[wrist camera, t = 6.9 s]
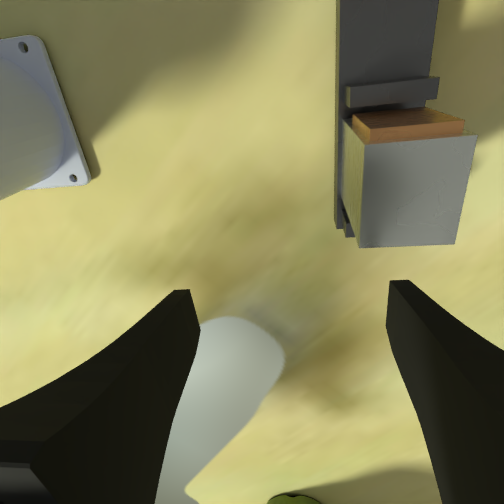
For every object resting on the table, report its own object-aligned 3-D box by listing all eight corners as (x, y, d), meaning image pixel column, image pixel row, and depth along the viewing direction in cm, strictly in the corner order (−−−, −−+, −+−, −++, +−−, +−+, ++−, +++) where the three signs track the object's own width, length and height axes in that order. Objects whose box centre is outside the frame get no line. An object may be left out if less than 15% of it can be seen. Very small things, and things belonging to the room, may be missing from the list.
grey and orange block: (341, 195, 18) (359, 248, 13) (342, 110, 16) (365, 132, 11) (407, 191, 18) (454, 244, 12) (418, 102, 16) (480, 121, 10)
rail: (401, 214, 20) (452, 287, 13) (334, 218, 21) (351, 289, 14) (459, -272, 11) (683, -730, 5) (338, -240, 12) (390, -606, 5)
